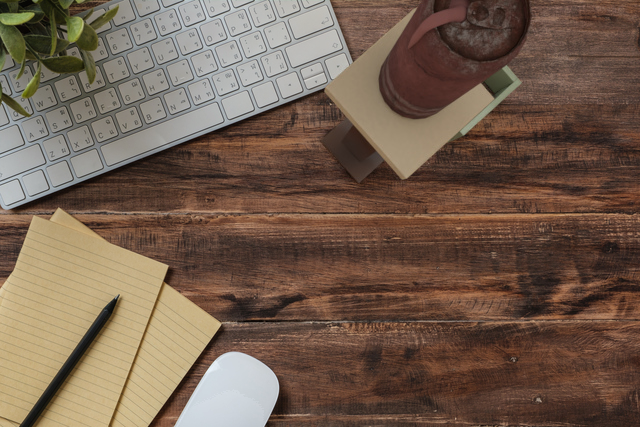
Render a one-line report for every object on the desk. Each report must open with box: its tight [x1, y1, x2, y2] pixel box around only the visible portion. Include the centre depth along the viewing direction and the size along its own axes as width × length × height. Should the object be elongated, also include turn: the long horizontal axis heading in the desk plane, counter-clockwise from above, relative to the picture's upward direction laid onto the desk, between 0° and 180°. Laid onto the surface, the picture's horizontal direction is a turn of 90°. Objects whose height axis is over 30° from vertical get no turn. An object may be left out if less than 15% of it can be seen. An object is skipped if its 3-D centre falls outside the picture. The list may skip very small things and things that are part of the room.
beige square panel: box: [323, 7, 494, 181], centre depth 40 cm, size 10×10×2 cm
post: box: [319, 116, 385, 185], centre depth 54 cm, size 8×8×27 cm
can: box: [378, 0, 533, 119], centre depth 32 cm, size 6×6×14 cm
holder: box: [447, 64, 523, 143], centre depth 66 cm, size 11×11×6 cm
